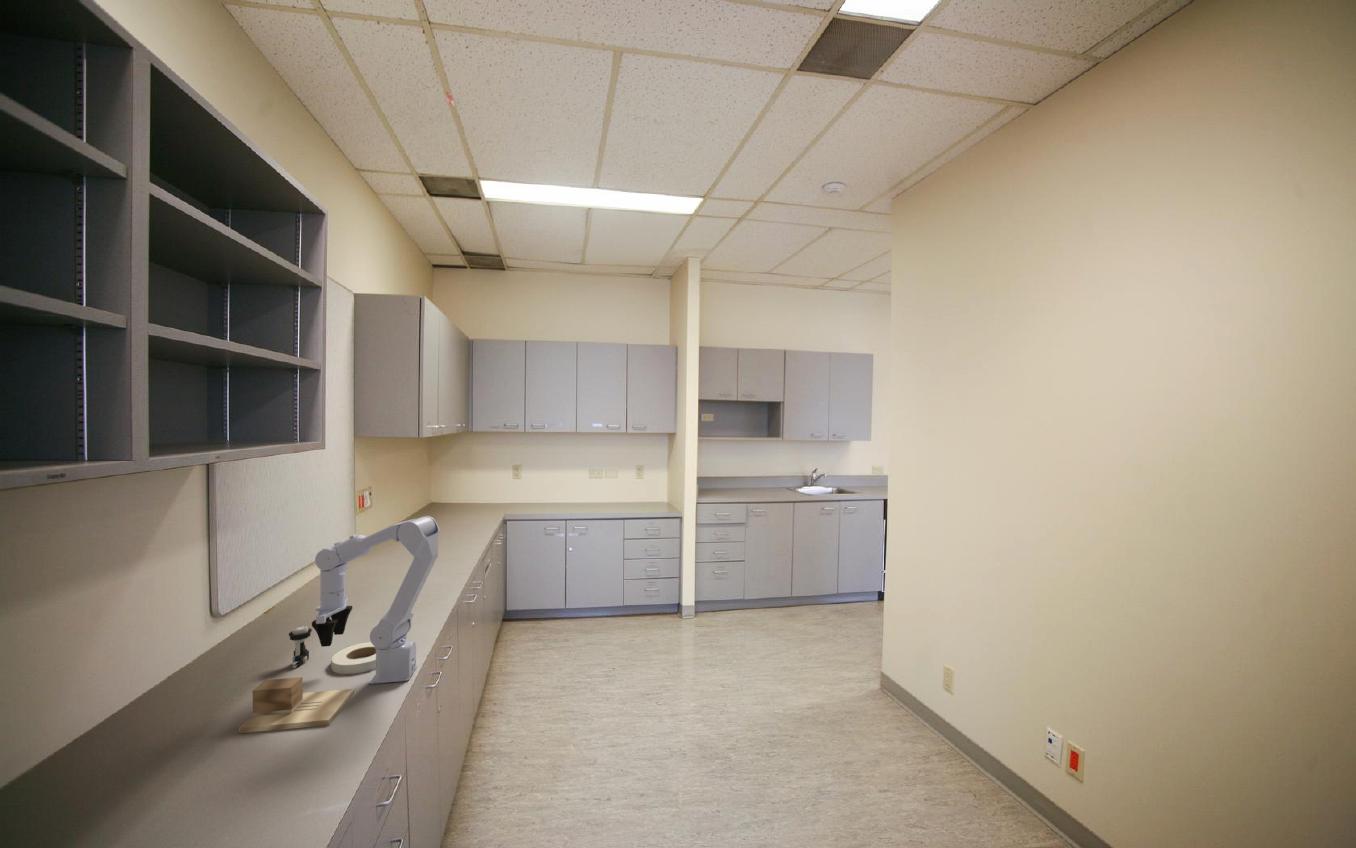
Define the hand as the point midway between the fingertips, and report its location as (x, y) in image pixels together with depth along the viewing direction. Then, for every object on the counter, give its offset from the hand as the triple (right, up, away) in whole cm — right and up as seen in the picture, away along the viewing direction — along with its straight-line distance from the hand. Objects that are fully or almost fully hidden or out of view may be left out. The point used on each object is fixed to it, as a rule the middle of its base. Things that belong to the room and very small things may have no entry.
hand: (332, 640), depth 143 cm
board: (+5, -10, -18) cm, 21 cm away
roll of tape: (+4, -10, +8) cm, 13 cm away
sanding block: (0, -8, -19) cm, 21 cm away
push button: (-13, -10, +6) cm, 17 cm away
